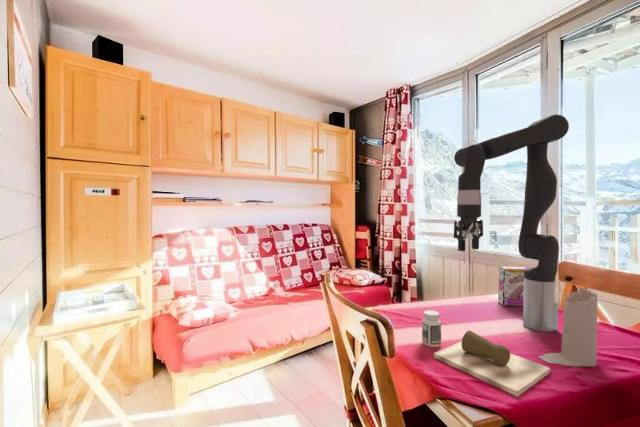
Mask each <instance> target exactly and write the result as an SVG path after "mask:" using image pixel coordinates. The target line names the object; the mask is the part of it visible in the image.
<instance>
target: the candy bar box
mask: <svg viewBox="0 0 640 427" xmlns="http://www.w3.org/2000/svg"><path fill="white" fill-rule="evenodd" d="M526 269H529V268H527V267H523V266H521V267H520V266H499V267H498V288H497V289H498V297H497V301H498V302H497V303H498V304H500V305H501V306H502V307H503V306H505V307H523V288H524V270H526Z"/></svg>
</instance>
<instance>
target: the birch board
mask: <svg viewBox="0 0 640 427" xmlns="http://www.w3.org/2000/svg"><path fill="white" fill-rule="evenodd" d="M433 358H434V359H436V360H438V361H441V362H442V363H445V364H447V365H449V366H451V367H453V368H456V369H458V370H460V371H462V372H464V373H466V374H468V375H470V376H473V377H475V378H478V379H479V380H481V381H483V382H485V383H488V384H490V385H491V386H494V387H496V388H499V389H500V390H502V391H505V392H506V393H509V394H511V395H513V396H516V397H517V398H518V397H520V395H522V394H523V393H525V392H526V391H527V390H529V389H530V388H531V387H533V386H534V385H536V384H537V383H538V382H539V381H541V380H542V379H544V377H546V376H548V375H549V374H550V373H551V367H548V366H547V365H546V366H545V365H543V364H540V363H537V362H534V361H532V360H530V359H527V358H524V357H521V356H519V355H516V354H513V353H511V352H510V359H509V362H508V363H507V364H506V365H505V366H499V365H497V364H496V363H494V362H493V361H492V360H491V359H488V358H485V357H481V356H478V355H475V354H472V353H469V352H466V351H464V350H463V349H462V340H461V341H459V342H457V343H455V344H451V345H449V346H446V347H445V348H443V349H440V350H438V351H435V352H433Z"/></svg>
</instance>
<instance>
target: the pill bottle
mask: <svg viewBox="0 0 640 427" xmlns="http://www.w3.org/2000/svg"><path fill="white" fill-rule="evenodd" d="M423 317H424V318H422V320H421V329H422V330H421V333H422V334H421V338H422V339H421V341H422V344H423V345H425V346H427V347H430V348H440V346H441V345H442V322H441V320H440V317H441V316H440V313H439V312H438V311H436V310H424V311H423Z"/></svg>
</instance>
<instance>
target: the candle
mask: <svg viewBox="0 0 640 427" xmlns="http://www.w3.org/2000/svg"><path fill="white" fill-rule="evenodd" d="M563 322H564V323H563V329H562V330H563V331H562V337H561V351H560V352H550V353H549V352H548V353H544V355H539V356H538V358H539V359H541V360H542V361H544V362H545V363H549V364H555V365H556V364H557V365H562V366H565V367H568V366H569V367H589V368H590V367H591V368H592V367H596V366H597V355H598V354H597V351H598V350H597V340H598V336H597V335H598V294H597V293H596V292H594V291H592V290H590V289H588V288H584V287H579V288H578V291H571V293H570V295H567V296H565V297H564V304H563Z"/></svg>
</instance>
